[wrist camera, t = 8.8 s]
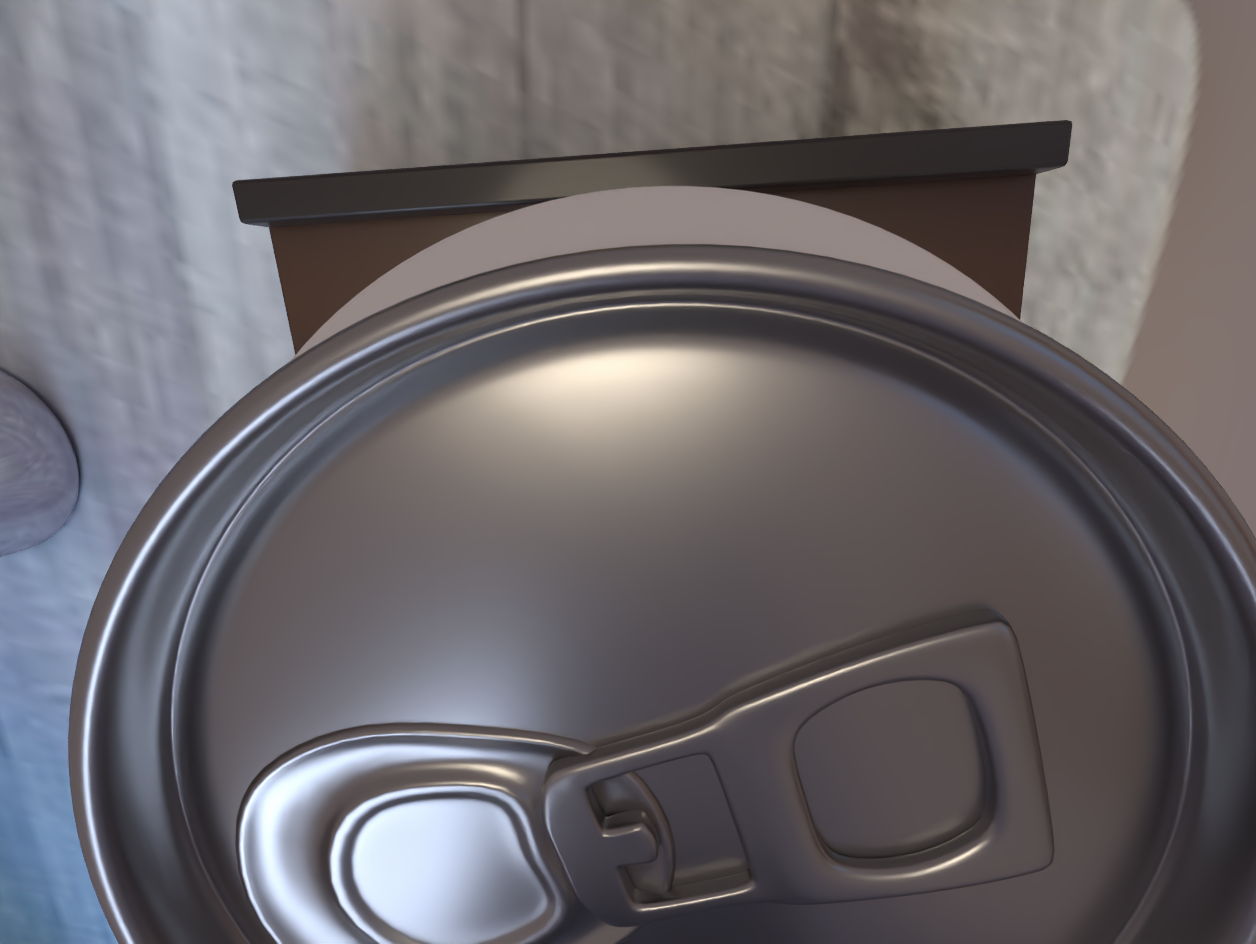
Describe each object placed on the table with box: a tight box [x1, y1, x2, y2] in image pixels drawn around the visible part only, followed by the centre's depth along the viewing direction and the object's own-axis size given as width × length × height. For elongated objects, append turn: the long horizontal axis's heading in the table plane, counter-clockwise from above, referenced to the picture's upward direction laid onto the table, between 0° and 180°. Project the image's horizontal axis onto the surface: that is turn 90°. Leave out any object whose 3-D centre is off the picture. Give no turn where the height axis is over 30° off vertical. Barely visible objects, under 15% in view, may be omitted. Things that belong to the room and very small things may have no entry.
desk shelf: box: [232, 120, 1072, 355], centre depth 16 cm, size 10×16×5 cm, turn 93°
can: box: [68, 186, 1256, 944], centre depth 9 cm, size 6×6×12 cm
